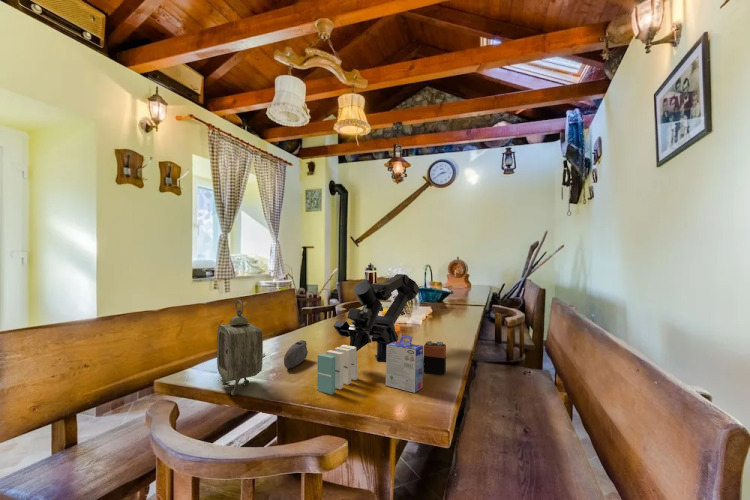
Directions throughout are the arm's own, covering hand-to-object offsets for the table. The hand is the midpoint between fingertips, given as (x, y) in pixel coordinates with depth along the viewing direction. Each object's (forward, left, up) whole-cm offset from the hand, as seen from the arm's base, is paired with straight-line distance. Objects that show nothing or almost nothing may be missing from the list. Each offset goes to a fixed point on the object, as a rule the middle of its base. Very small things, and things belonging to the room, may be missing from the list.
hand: (350, 354), depth 103 cm
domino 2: (+6, -5, -7) cm, 11 cm away
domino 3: (+3, -3, -7) cm, 8 cm away
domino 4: (0, 0, -7) cm, 7 cm away
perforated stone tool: (-15, -18, -8) cm, 25 cm away
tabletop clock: (+3, -32, -7) cm, 33 cm away
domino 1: (+9, -7, -7) cm, 14 cm away
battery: (-2, +28, -7) cm, 29 cm away
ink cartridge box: (+9, +15, -7) cm, 19 cm away
